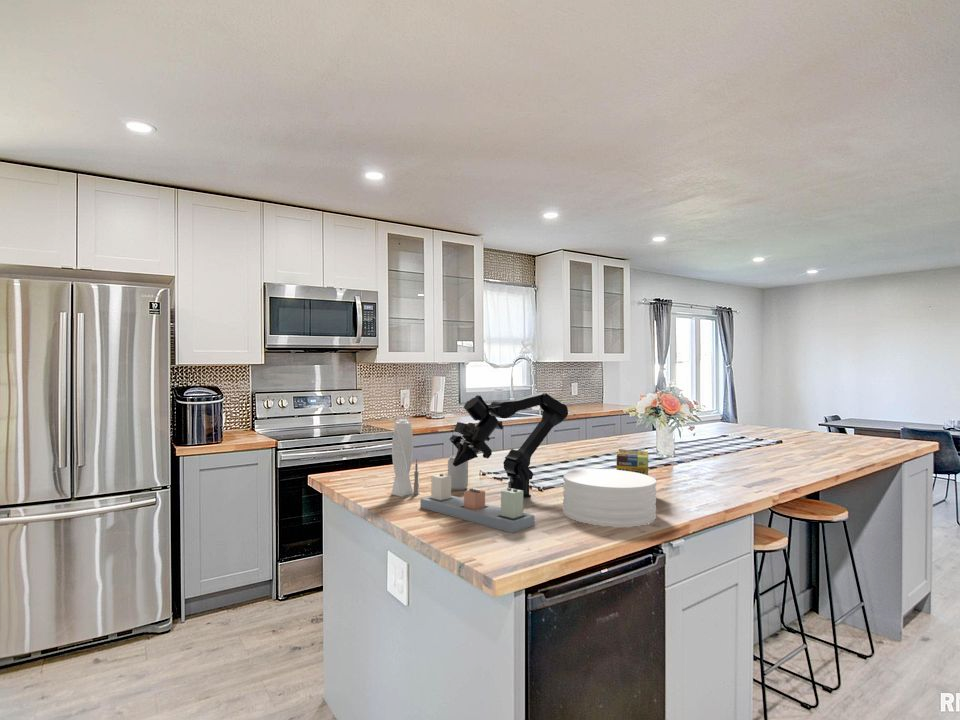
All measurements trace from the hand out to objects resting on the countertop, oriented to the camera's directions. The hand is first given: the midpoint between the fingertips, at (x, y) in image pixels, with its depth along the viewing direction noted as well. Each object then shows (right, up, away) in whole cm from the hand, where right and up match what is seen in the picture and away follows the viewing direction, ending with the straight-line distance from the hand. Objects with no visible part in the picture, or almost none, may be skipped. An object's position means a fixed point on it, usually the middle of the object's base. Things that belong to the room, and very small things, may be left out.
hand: (454, 465), depth 177 cm
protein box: (+62, -14, +15) cm, 65 cm away
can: (0, -13, +24) cm, 27 cm away
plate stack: (+48, -14, -8) cm, 51 cm away
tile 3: (+7, -13, -12) cm, 19 cm away
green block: (+18, -10, -22) cm, 30 cm away
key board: (+7, -13, -12) cm, 19 cm away
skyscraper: (-19, -13, +14) cm, 27 cm away
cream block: (-4, -10, -3) cm, 11 cm away
